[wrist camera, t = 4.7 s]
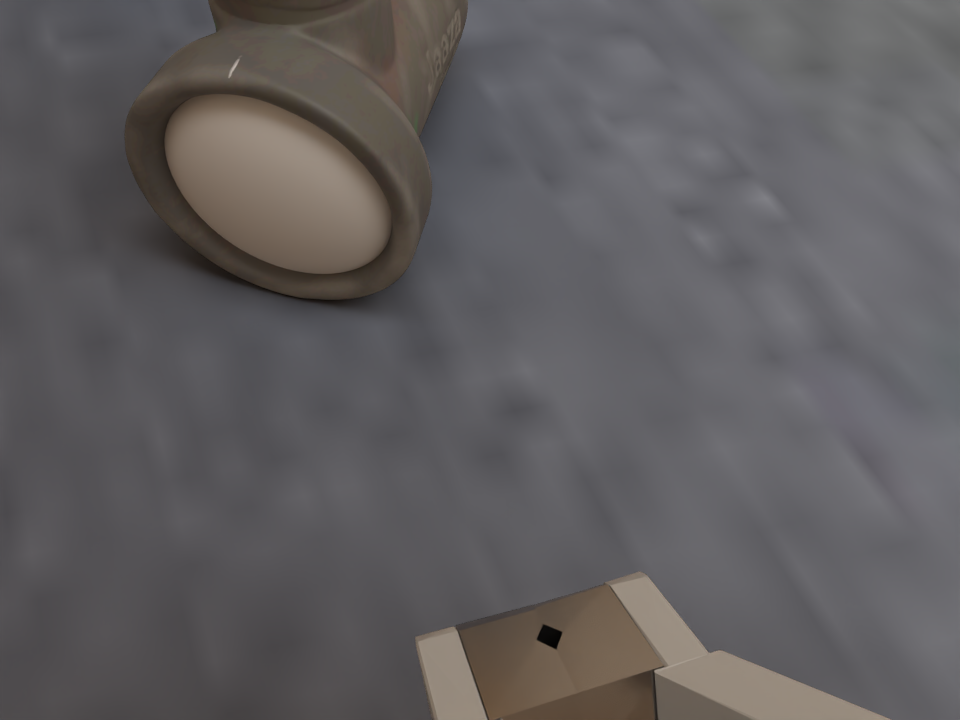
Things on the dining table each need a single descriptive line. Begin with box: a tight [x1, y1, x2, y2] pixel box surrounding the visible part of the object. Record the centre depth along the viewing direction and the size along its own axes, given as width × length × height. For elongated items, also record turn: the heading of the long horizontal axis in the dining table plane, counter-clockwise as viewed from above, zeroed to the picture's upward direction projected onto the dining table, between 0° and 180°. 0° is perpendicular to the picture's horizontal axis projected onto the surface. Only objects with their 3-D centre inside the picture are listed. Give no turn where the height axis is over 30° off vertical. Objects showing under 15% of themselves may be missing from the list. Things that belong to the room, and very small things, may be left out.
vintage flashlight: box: [125, 0, 468, 300], centre depth 22 cm, size 12×8×10 cm
